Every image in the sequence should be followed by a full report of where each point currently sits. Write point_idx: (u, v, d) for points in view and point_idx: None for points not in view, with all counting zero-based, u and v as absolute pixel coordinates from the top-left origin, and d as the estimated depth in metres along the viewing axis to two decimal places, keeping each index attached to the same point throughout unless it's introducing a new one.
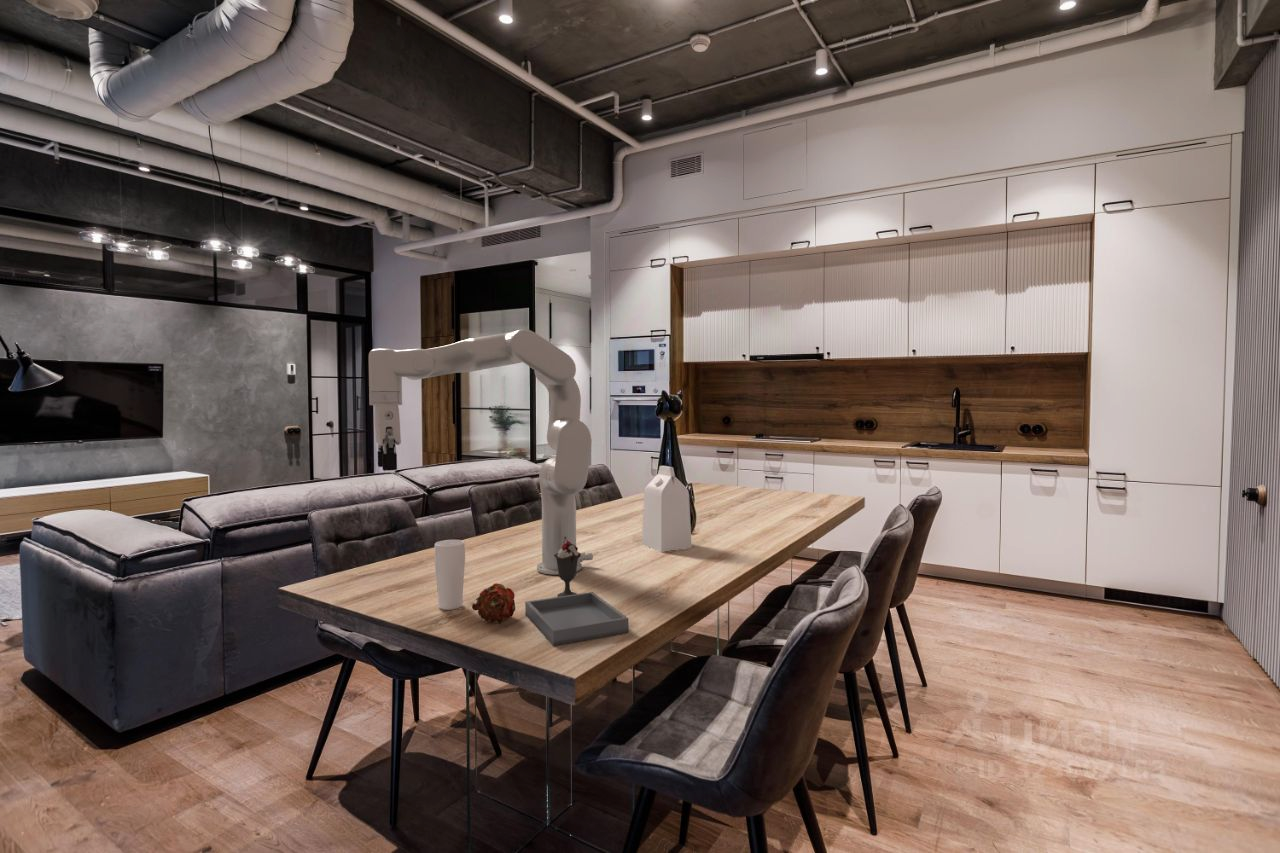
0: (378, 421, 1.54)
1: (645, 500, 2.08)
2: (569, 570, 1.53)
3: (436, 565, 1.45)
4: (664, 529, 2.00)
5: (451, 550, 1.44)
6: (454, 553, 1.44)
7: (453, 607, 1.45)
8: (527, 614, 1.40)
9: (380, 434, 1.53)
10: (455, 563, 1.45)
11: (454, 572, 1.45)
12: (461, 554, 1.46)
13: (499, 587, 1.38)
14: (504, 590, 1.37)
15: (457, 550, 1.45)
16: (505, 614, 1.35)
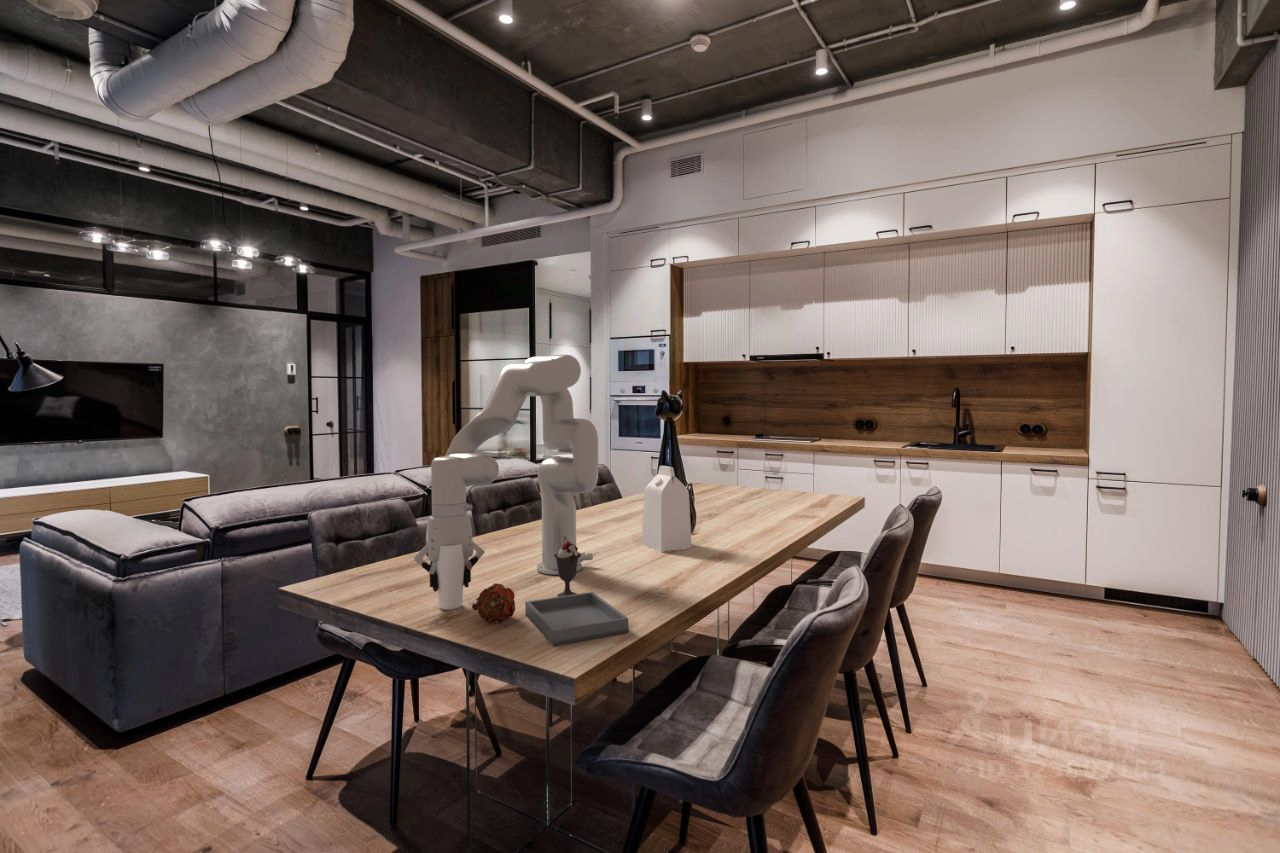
0: (467, 533, 1.46)
1: (645, 500, 2.08)
2: (569, 570, 1.53)
3: None
4: (664, 529, 2.00)
5: (451, 550, 1.44)
6: (453, 553, 1.44)
7: (453, 607, 1.45)
8: (527, 614, 1.40)
9: (471, 546, 1.47)
10: (455, 563, 1.45)
11: (454, 572, 1.45)
12: (461, 554, 1.46)
13: (499, 587, 1.38)
14: (504, 590, 1.37)
15: (457, 550, 1.45)
16: (505, 614, 1.35)
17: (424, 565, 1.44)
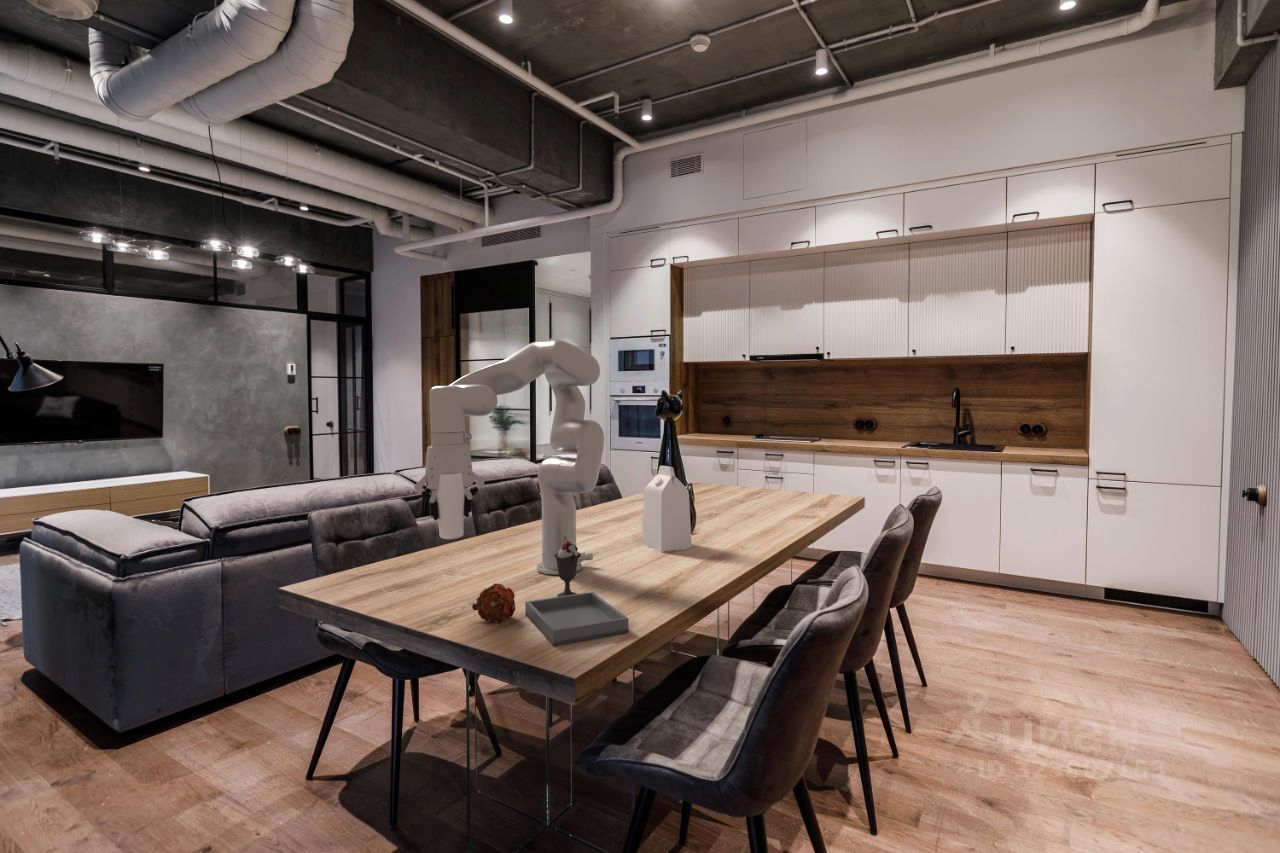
0: (466, 462, 1.46)
1: (645, 500, 2.08)
2: (569, 570, 1.53)
3: None
4: (664, 529, 2.00)
5: (450, 479, 1.43)
6: (453, 481, 1.44)
7: (454, 536, 1.45)
8: (527, 614, 1.40)
9: (471, 475, 1.47)
10: (455, 492, 1.44)
11: (454, 501, 1.44)
12: (461, 483, 1.45)
13: (499, 587, 1.38)
14: (504, 590, 1.37)
15: (456, 479, 1.44)
16: (505, 614, 1.35)
17: (424, 494, 1.43)
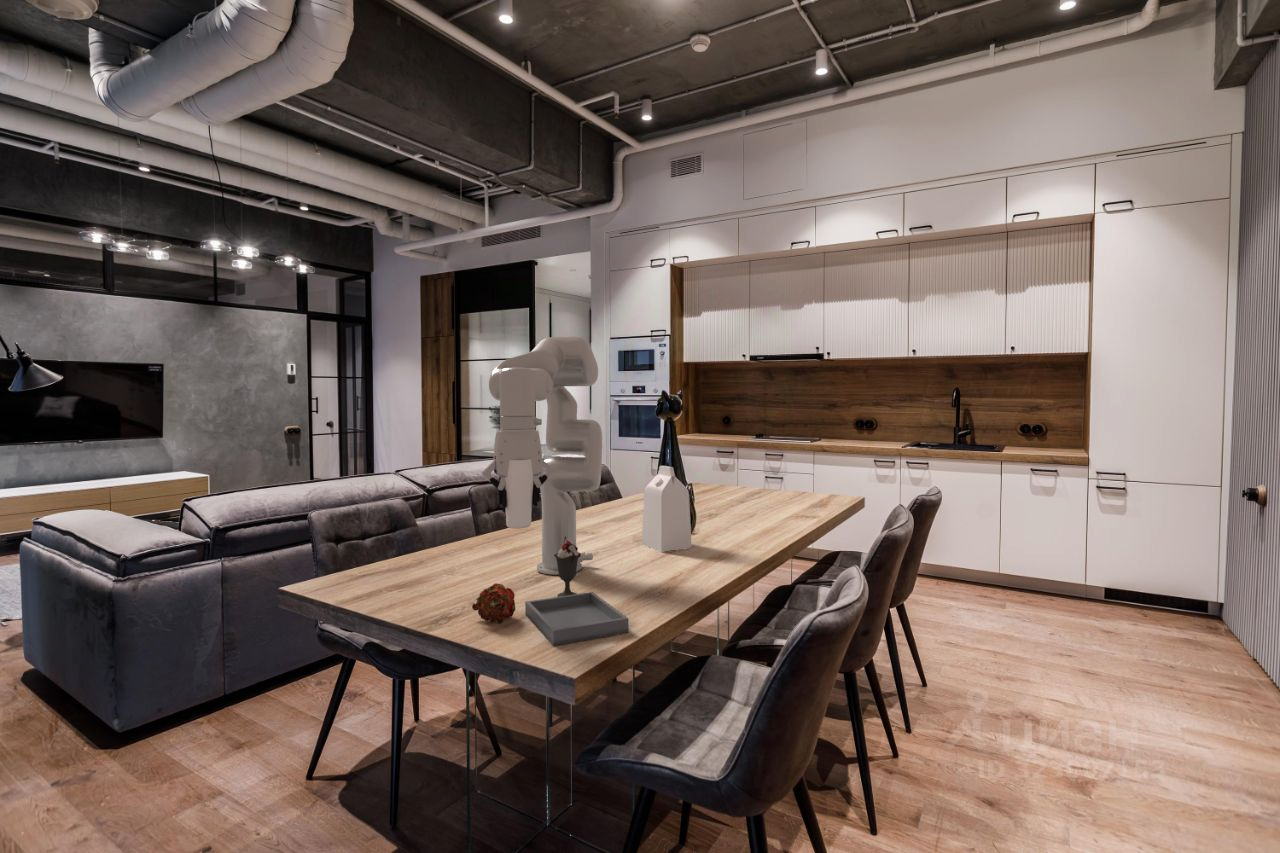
0: (536, 449, 1.39)
1: (645, 500, 2.08)
2: (569, 570, 1.53)
3: None
4: (664, 529, 2.00)
5: (520, 465, 1.36)
6: (523, 468, 1.37)
7: (522, 525, 1.38)
8: (527, 614, 1.40)
9: (541, 462, 1.40)
10: (524, 479, 1.37)
11: (523, 488, 1.37)
12: (530, 470, 1.38)
13: (499, 587, 1.38)
14: (504, 590, 1.37)
15: (526, 465, 1.37)
16: (505, 614, 1.35)
17: (492, 480, 1.37)
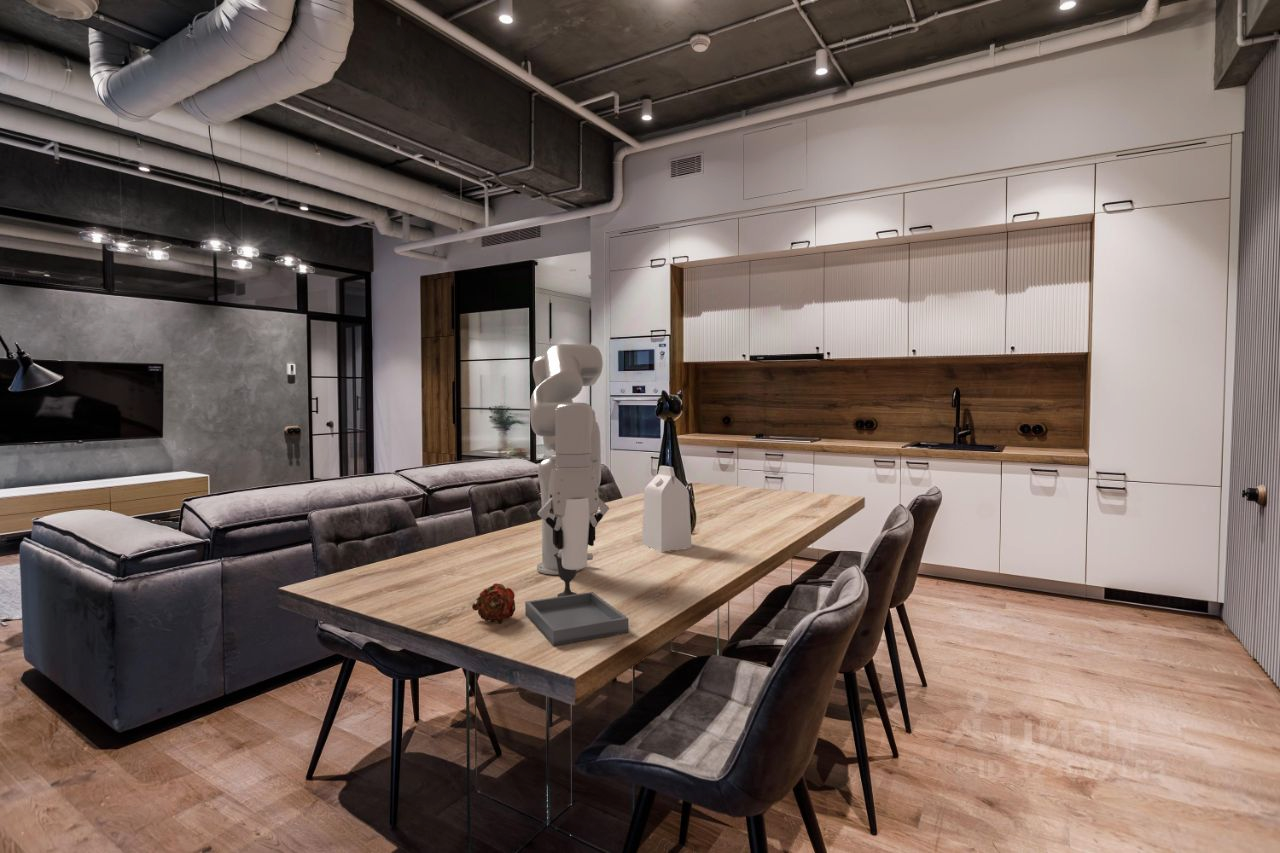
0: (593, 487, 1.35)
1: (645, 500, 2.08)
2: (569, 570, 1.53)
3: None
4: (664, 529, 2.00)
5: (578, 504, 1.32)
6: (581, 507, 1.32)
7: (579, 567, 1.33)
8: (527, 614, 1.40)
9: (597, 501, 1.35)
10: (582, 518, 1.33)
11: (581, 528, 1.33)
12: (587, 509, 1.34)
13: (499, 587, 1.38)
14: (504, 590, 1.37)
15: (584, 504, 1.33)
16: (505, 614, 1.35)
17: (549, 520, 1.32)
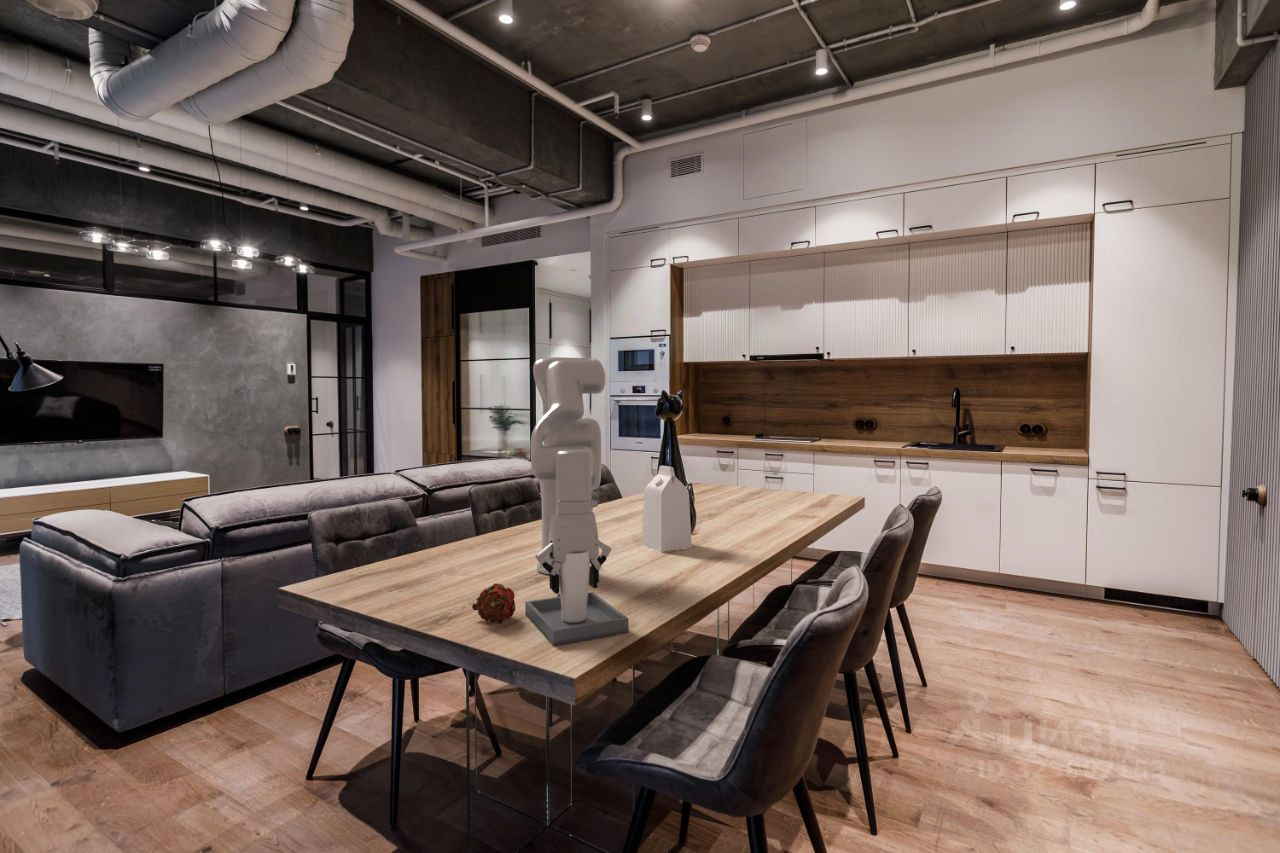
0: (593, 532, 1.35)
1: (645, 500, 2.08)
2: None
3: (561, 574, 1.34)
4: (664, 529, 2.00)
5: (578, 558, 1.33)
6: (581, 561, 1.33)
7: (579, 620, 1.34)
8: (527, 614, 1.40)
9: (597, 546, 1.36)
10: (582, 572, 1.33)
11: (581, 582, 1.33)
12: (587, 562, 1.35)
13: (499, 587, 1.38)
14: (504, 590, 1.37)
15: (584, 558, 1.34)
16: (505, 614, 1.35)
17: (545, 565, 1.32)
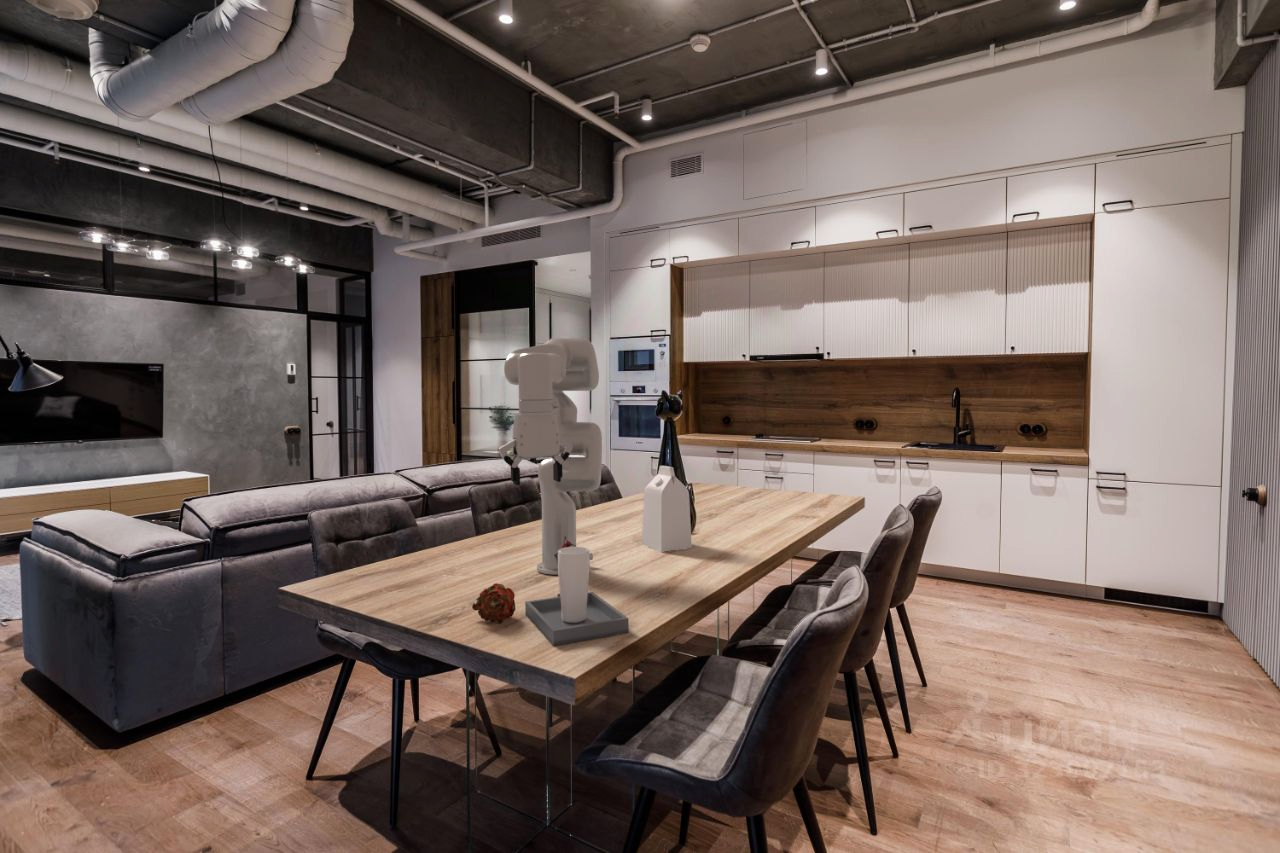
0: (554, 431, 1.45)
1: (645, 500, 2.08)
2: None
3: (561, 575, 1.34)
4: (664, 529, 2.00)
5: (578, 558, 1.33)
6: (581, 561, 1.33)
7: (579, 620, 1.34)
8: (527, 614, 1.40)
9: (558, 444, 1.46)
10: (582, 572, 1.33)
11: (581, 582, 1.33)
12: (587, 562, 1.35)
13: (499, 587, 1.38)
14: (504, 590, 1.37)
15: (584, 558, 1.34)
16: (505, 614, 1.35)
17: (507, 458, 1.41)
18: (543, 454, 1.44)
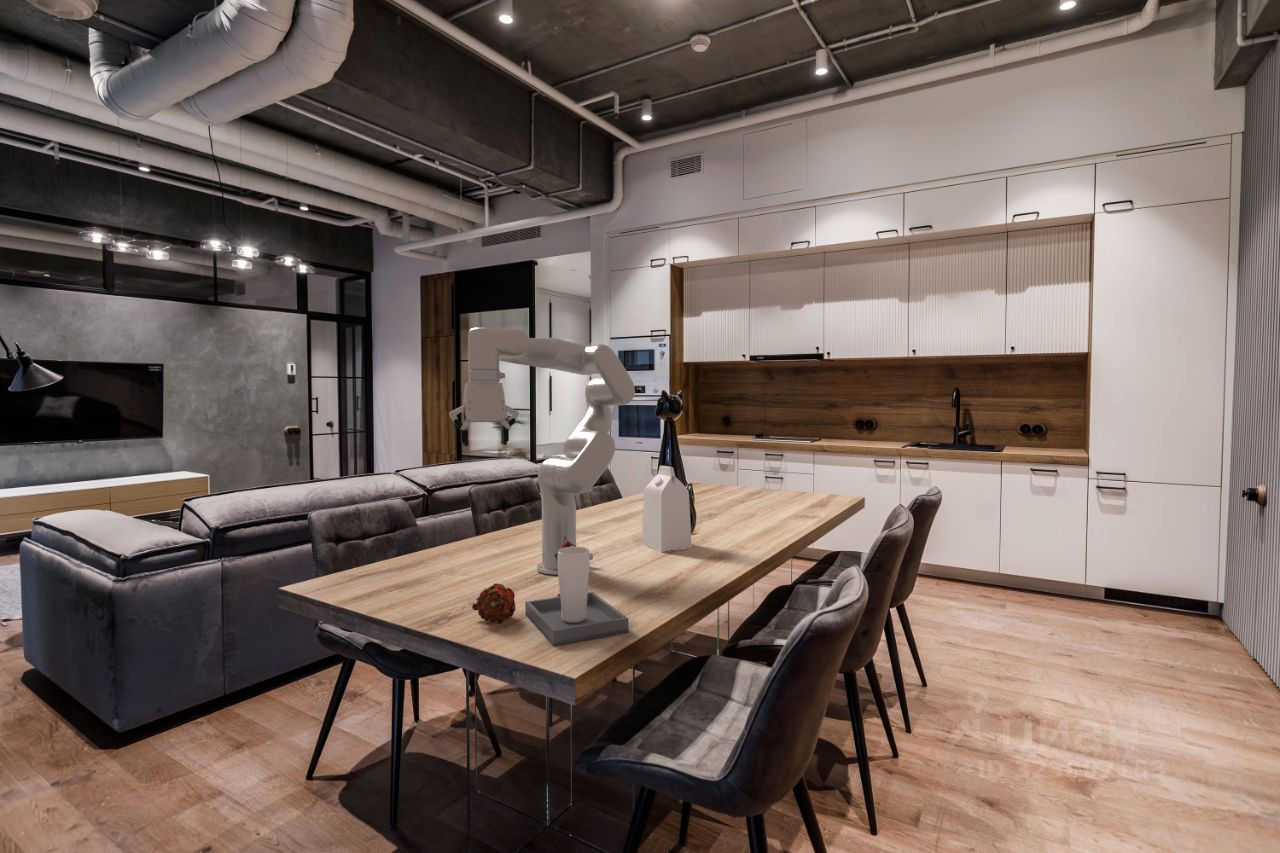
0: (500, 398, 1.61)
1: (645, 500, 2.08)
2: None
3: (561, 575, 1.34)
4: (664, 529, 2.00)
5: (578, 558, 1.33)
6: (580, 561, 1.33)
7: (579, 620, 1.34)
8: (527, 614, 1.40)
9: (504, 410, 1.62)
10: (582, 572, 1.33)
11: (581, 582, 1.33)
12: (587, 562, 1.35)
13: (499, 587, 1.38)
14: (504, 590, 1.37)
15: (583, 558, 1.34)
16: (505, 614, 1.35)
17: (456, 421, 1.57)
18: (490, 419, 1.60)
